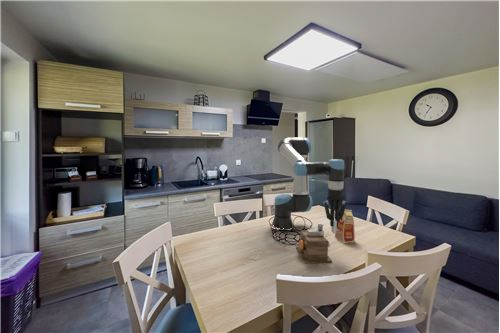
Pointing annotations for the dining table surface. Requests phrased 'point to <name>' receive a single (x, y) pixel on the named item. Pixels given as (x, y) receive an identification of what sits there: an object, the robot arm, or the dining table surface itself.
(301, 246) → the lynch pin
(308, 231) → the keeper bar
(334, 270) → the dining table surface
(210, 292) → the dining table surface
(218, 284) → the dining table surface
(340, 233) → the milk carton
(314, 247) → the hitch block
